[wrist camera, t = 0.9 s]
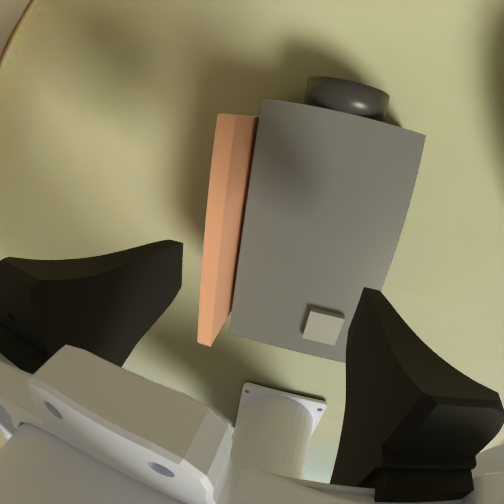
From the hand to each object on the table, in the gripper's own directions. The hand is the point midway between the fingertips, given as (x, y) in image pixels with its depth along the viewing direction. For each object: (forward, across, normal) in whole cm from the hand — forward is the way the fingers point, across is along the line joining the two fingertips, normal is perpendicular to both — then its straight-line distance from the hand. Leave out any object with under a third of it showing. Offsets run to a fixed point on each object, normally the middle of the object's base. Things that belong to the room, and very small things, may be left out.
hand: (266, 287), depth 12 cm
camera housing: (+9, -2, 0) cm, 10 cm away
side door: (+9, +4, 0) cm, 10 cm away
